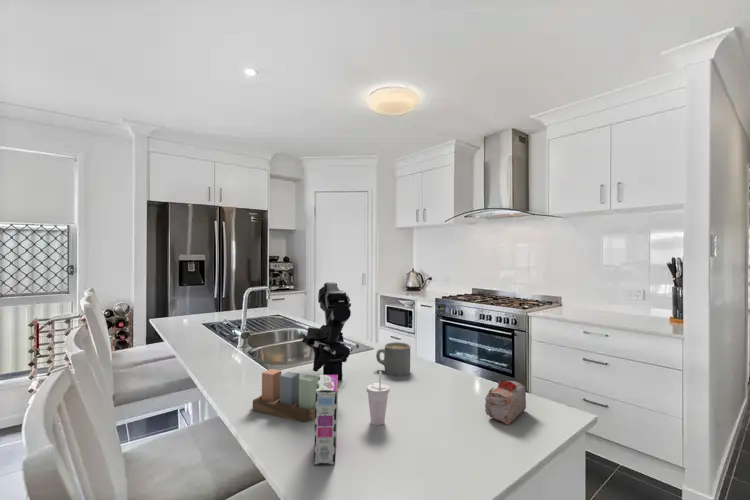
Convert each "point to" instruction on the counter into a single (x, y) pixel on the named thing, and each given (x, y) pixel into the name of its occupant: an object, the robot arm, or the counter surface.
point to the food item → (506, 401)
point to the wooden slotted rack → (283, 410)
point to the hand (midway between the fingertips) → (314, 371)
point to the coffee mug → (395, 358)
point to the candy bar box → (326, 420)
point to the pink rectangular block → (271, 385)
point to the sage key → (307, 392)
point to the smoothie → (377, 401)
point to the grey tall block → (289, 388)
